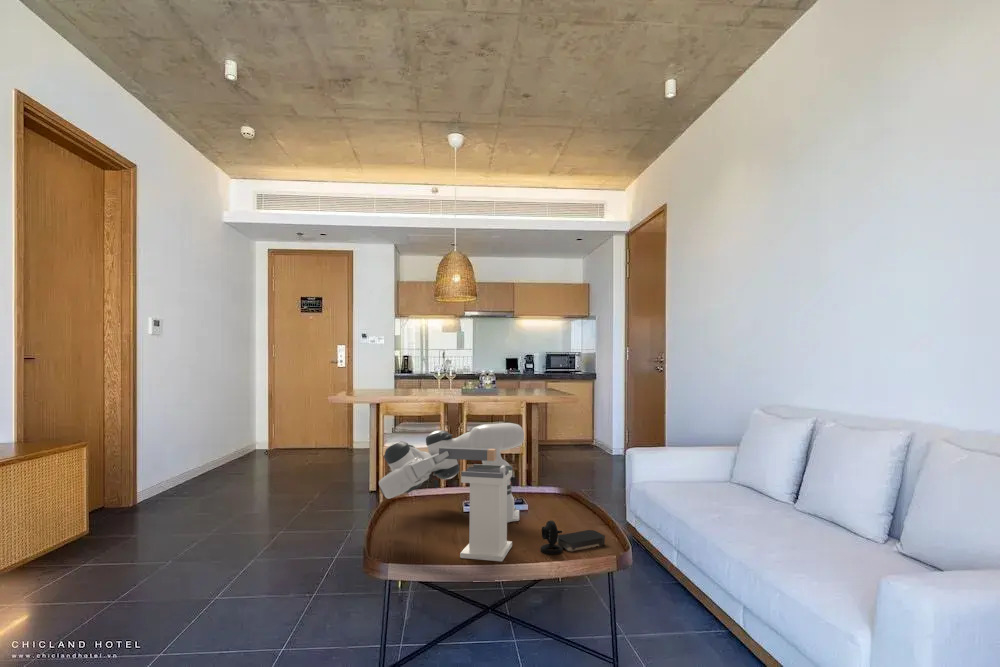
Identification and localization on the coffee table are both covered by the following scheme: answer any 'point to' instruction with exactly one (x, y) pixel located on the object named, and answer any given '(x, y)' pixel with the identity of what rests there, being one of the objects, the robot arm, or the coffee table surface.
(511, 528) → the coffee table surface
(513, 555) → the coffee table surface
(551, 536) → the webcam
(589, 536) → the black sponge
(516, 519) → the robot arm
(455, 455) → the long grey square bar
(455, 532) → the coffee table surface
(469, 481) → the tester stand
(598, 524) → the coffee table surface
